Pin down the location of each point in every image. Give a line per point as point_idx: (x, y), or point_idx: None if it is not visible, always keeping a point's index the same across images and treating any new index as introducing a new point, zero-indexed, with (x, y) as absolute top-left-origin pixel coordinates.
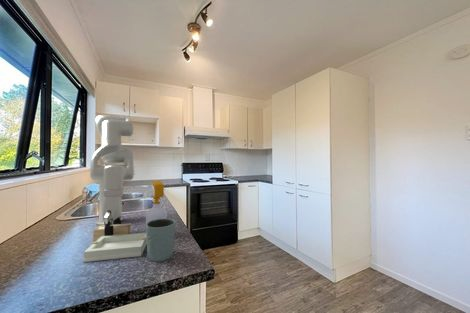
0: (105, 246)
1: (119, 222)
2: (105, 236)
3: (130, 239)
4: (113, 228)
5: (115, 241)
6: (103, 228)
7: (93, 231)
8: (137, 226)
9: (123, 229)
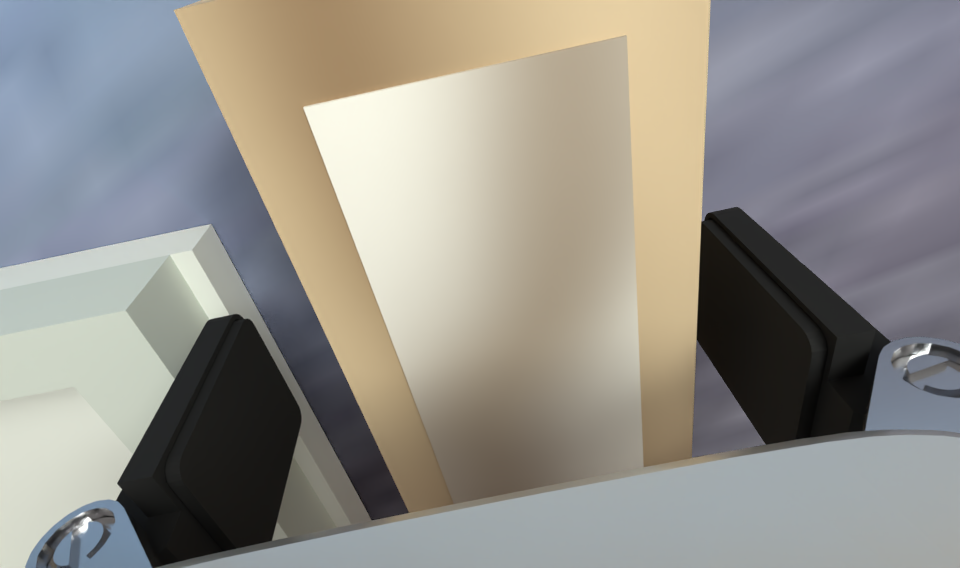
0: (24, 417)
1: (752, 412)
2: (146, 379)
3: None
4: (388, 441)
5: None
6: (358, 250)
7: (193, 3)
8: None
9: None
